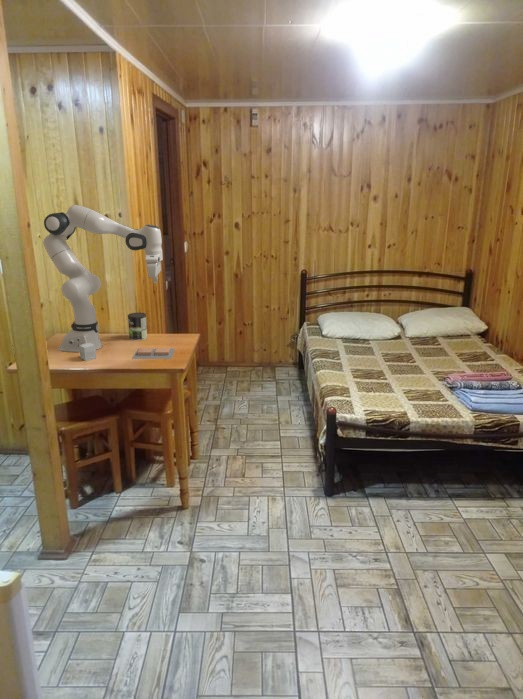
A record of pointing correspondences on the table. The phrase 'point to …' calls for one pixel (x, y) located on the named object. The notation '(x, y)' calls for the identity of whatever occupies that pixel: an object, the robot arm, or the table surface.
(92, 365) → the table surface
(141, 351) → the tile
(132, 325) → the coffee can
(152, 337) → the table surface
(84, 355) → the skincare box
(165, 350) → the tile
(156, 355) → the mat
